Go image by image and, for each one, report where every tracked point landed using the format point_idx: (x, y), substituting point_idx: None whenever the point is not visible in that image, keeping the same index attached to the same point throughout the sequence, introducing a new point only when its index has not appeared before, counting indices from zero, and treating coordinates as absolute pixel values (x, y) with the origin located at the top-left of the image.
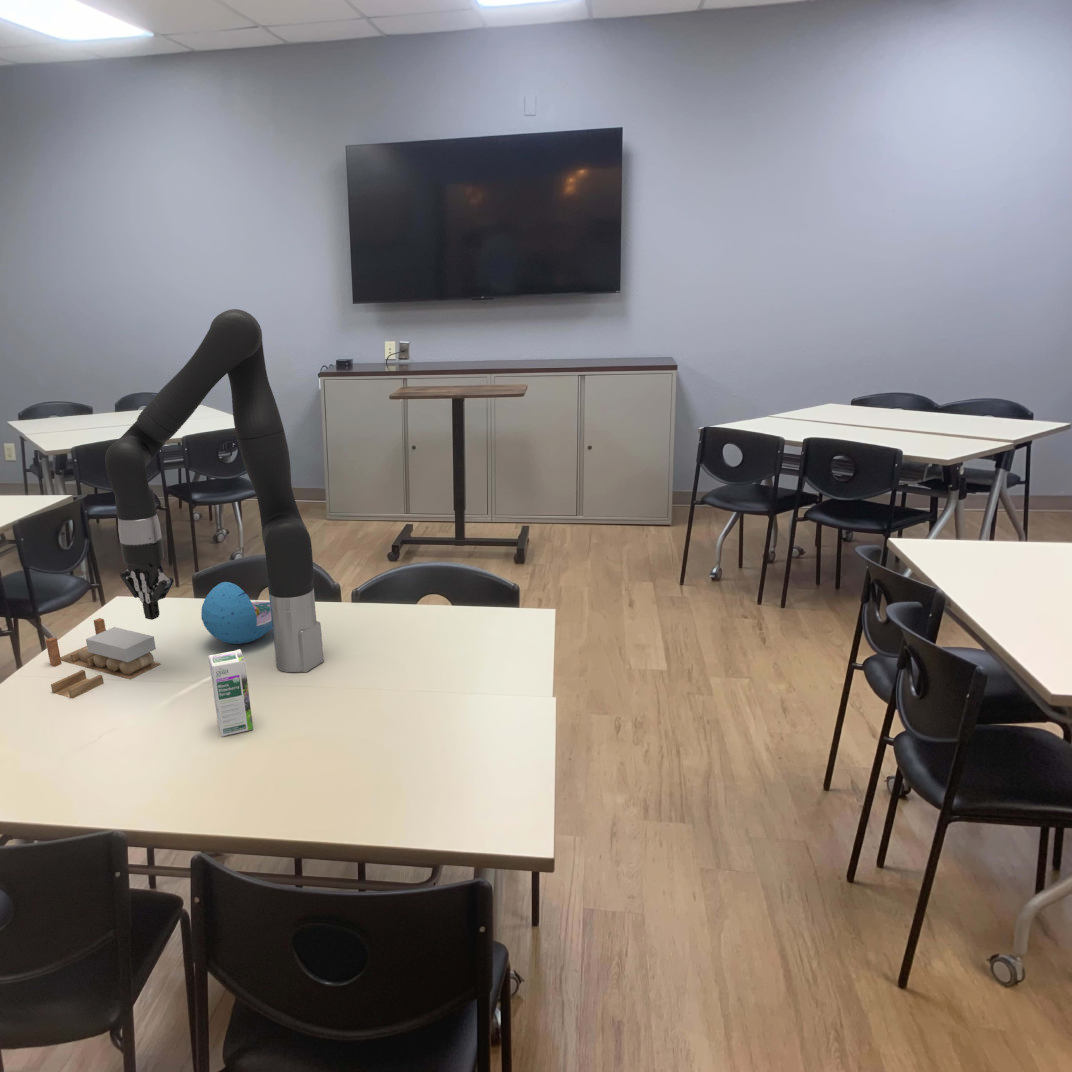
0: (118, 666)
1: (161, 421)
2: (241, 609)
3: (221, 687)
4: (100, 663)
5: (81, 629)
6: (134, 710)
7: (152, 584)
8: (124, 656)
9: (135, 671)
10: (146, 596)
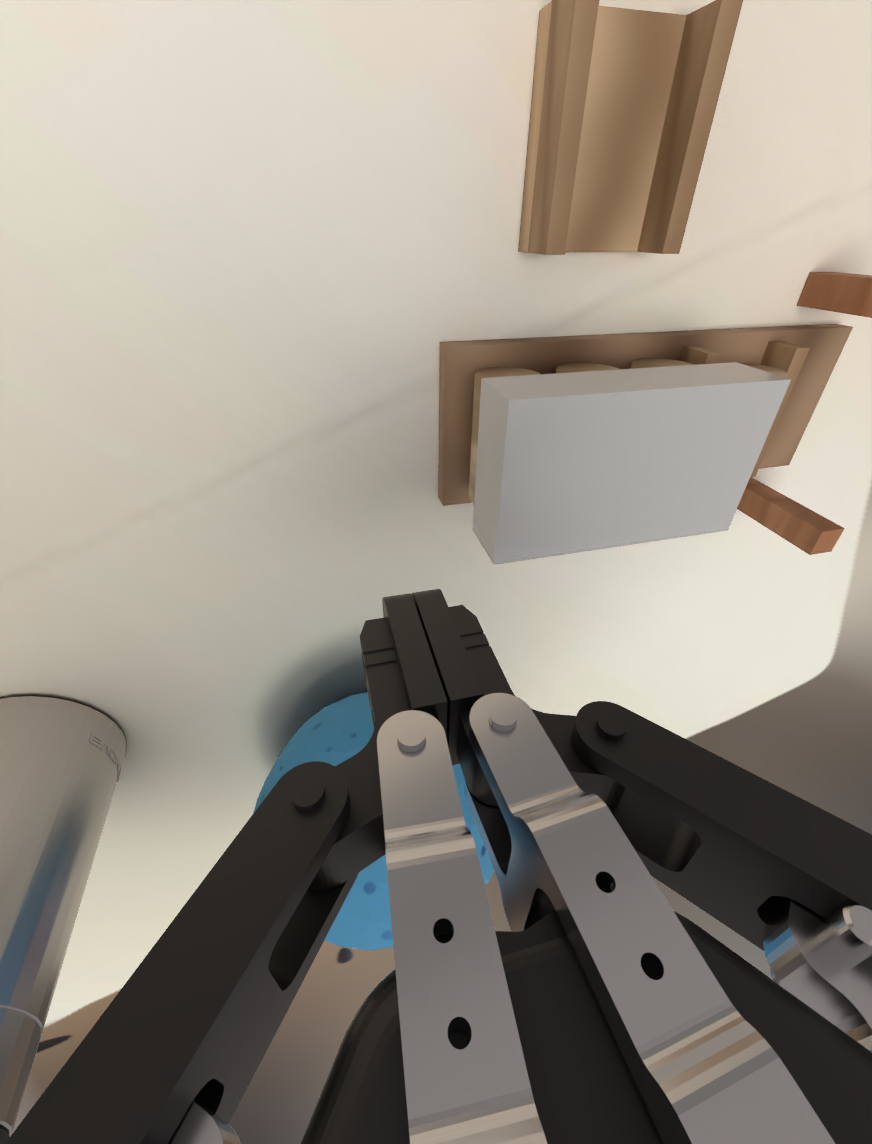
0: None
1: None
2: None
3: None
4: (650, 365)
5: (860, 526)
6: (148, 107)
7: (337, 1062)
8: (509, 384)
9: None
10: (432, 783)
